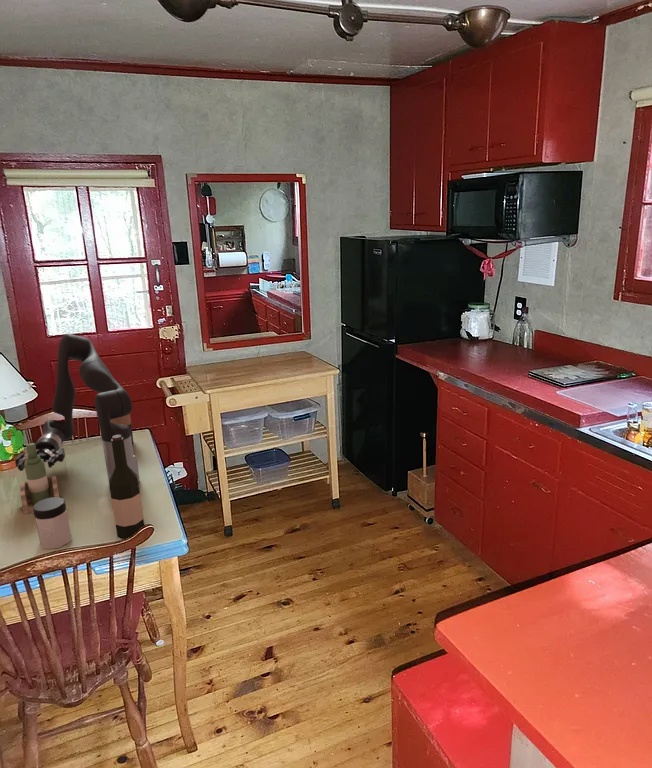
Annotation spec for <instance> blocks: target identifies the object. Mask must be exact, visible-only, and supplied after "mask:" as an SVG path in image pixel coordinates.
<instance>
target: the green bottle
mask: <svg viewBox="0 0 652 768" xmlns="http://www.w3.org/2000/svg"><path fill="white" fill-rule="evenodd" d="M35 444H36V443H35V442H32V443H31V442H30V443H27V444H26V445H25V448H26V454H28V457H27V458H26V461H25V463H24V466H25V468H24V471H25V475H26V481H27V482H28V486H29V491H30V495H31V500H32V505H35V504H36V503H37V502H39V501H41V500H44V499H47V498H51V495H50V490H49V484H48V479H47V477H48V476H47V475H48V473H47V471H46V465H45V462H44V460H43V459H40V456H39V455H37V451H36V446H35Z"/></svg>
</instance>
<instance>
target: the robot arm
mask: <svg viewBox="0 0 652 768" xmlns="http://www.w3.org/2000/svg"><path fill="white" fill-rule="evenodd" d="M57 350H58V351H57V362H56V363H57V367H56V385H55V391H54V398H53V402H52V407H51V410H52V413H54V414H57V415H60V416H62V417H63V418H64V420H57V419H48V420H46V421H45V422H44V424H43V425H42V435H41V436H40V437H39V439H38V440H37V441H36V443H35V446H36V451H37V455H39V456H40V459H43V460H44V463H47V466H48V468H50V469H52V467H53V466H54V465H55V464H57V463H58V462H61V463H62V462H63V461H64V459H65V457H66V452H65V451H66V450H65V448H64V447H62V448H61V446H62V445H63V443H64V441H66V442H67V441H70V439H72V438H73V436H74V433H75V429H74V422H73V421H74V419H73V418H74V417H73V410H74V405H75V400H76V387H75V384H74V382H73V379H72V376H71V373H70V368H69V360H73V361H78V362H81V364H80V367H79V370H78V371H79V372H78V373H79V375H80V378H81V379H82V381H83V384H85V386H86V387H87V388H88V389H90V390H92V391H94V392H97V394H95V396H94V406H95V412H96V416H97V420H98V425H99V431H100V437H101V441H102V448H103V455H104V461H105V466H106V467H105V468H106V473H107V481H109V479H110V477H111V475H112V473H113V471H114V469H115V462H114V455H113V449H112V442H111V439H113V438H112V436H114V435H121V437H123V440H124V447H125V454H126V460H127V465H128V466H129V467H130V468H131V469H132V470H133V471H134V472H135V473H136V474H137V477H138V483H139V482H140V481H141V479H140V473H139V472H140V471H139V465H138V458H137V455H135V454H134V449H133V447H134V446H133V444H132V440H131V433H130V428H129V427H128V426H126V425H123V424H114V423H111V421H110V419H114V418H119V417H123V416H126V415H128V414H130V415H131V413H132V411H133V402H132V399H131V396H130V394H129V393H128V391H126V389H125V388H124V387H123V386H122V385H121V384H120V383H119V382H118V381H117V379H115V377H114V376H113V375H112V372H110V369H109V368H108V367H107V366H106V364H105V363H104V362H103V360H102V358H100V357H101V356H99V354H98V351H97V350H96V348H95V345H94V344H93V342H92V341H91V340H90V339H89V338H87V337H83V336H80V335H76V334H72V333H65V334H63V335H62V336H61V338H60V341H59V343H58V349H57ZM27 457H28V454H27V453H26V454H25V452H20V453H19V454H18V455H17V456H16V457H15V458H14V463H15V467H17V469H18V471H19V472H22V471H24V470H25V466H24V463H25V462H26V458H27Z"/></svg>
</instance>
